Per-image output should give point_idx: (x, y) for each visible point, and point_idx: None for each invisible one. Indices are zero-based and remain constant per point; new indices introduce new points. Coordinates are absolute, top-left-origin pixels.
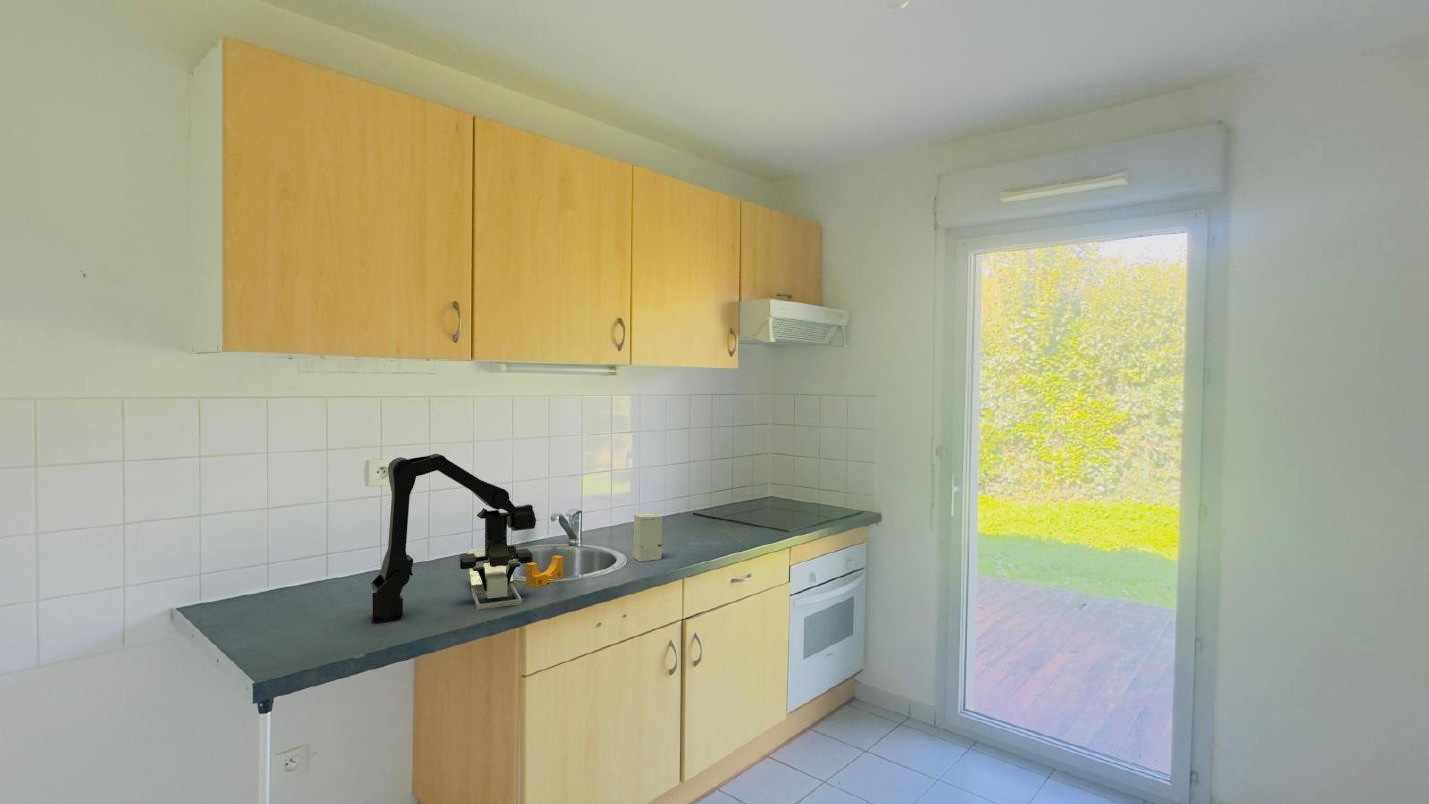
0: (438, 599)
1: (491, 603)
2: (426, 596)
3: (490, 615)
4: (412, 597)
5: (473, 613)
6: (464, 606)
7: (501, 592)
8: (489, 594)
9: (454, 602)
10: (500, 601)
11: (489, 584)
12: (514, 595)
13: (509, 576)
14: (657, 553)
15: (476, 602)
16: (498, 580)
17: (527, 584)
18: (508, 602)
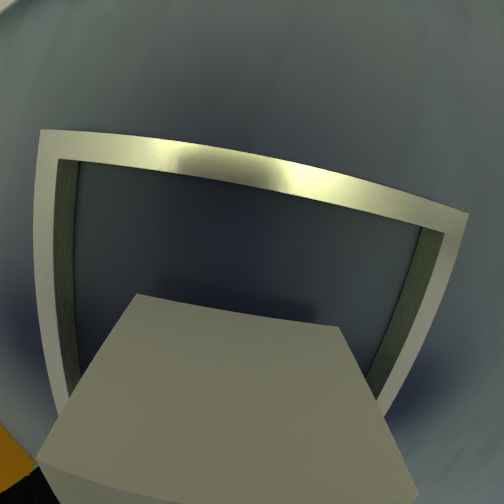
0: (451, 460)
1: (356, 178)
2: (447, 487)
3: (400, 5)
4: (474, 481)
5: (483, 139)
6: (459, 330)
7: (190, 334)
8: (334, 348)
9: (445, 415)
10: (248, 185)
11: (373, 438)
12: (79, 375)
13: (36, 494)
14: None
15: (442, 289)
16: (223, 479)
17: (27, 458)
18: (170, 141)
